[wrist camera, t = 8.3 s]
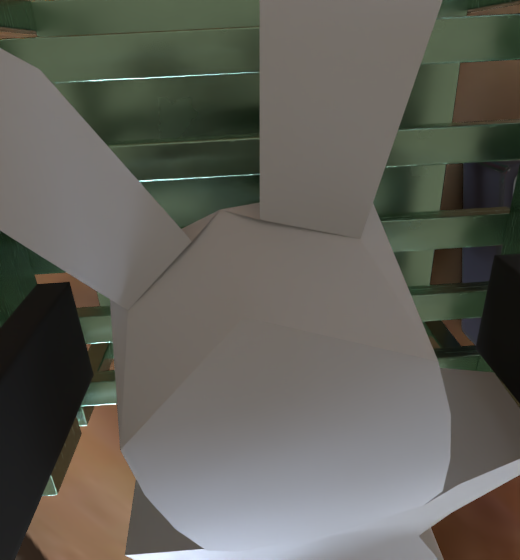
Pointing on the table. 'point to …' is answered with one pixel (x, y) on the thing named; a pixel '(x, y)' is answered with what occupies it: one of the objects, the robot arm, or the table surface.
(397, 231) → the rack
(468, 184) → the calculator
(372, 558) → the bunny figurine
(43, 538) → the table surface
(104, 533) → the table surface
